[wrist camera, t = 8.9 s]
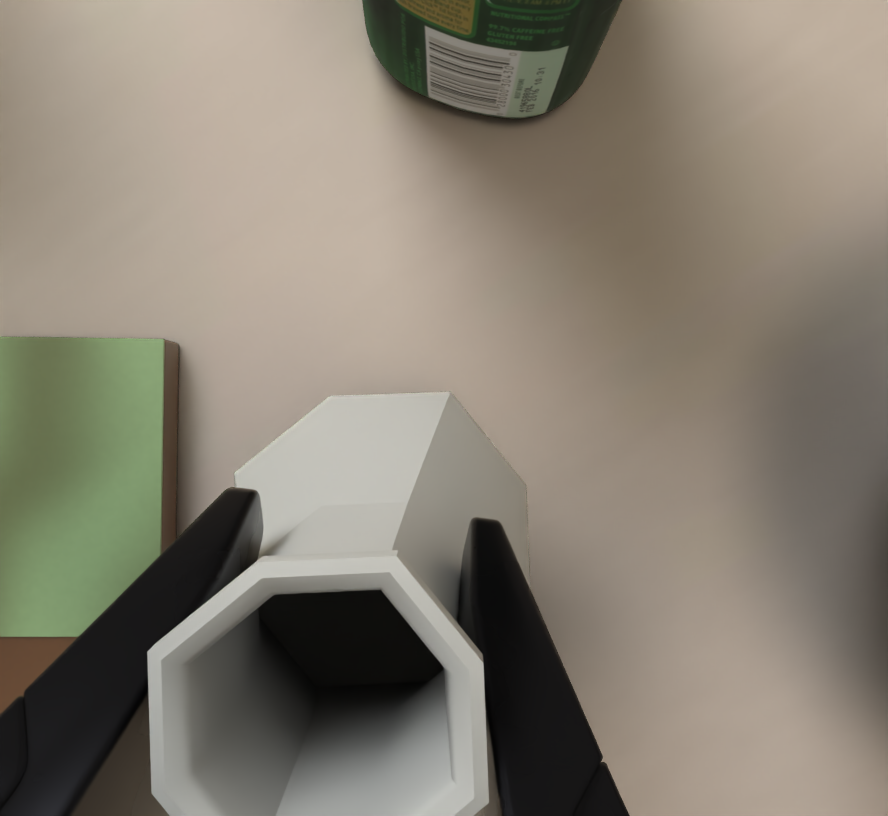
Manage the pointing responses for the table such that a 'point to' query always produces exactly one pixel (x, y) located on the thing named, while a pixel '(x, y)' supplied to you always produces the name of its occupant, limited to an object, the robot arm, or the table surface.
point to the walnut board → (79, 486)
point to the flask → (342, 626)
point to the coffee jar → (490, 49)
